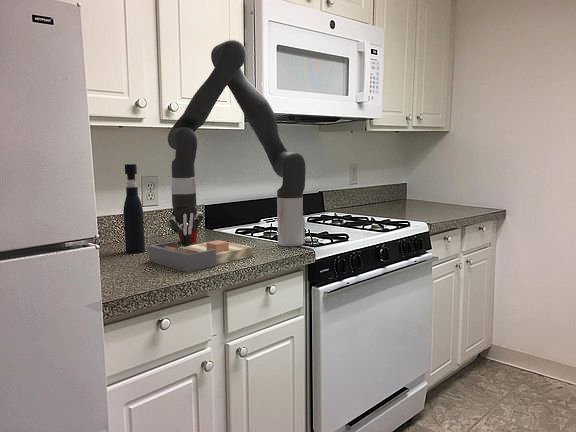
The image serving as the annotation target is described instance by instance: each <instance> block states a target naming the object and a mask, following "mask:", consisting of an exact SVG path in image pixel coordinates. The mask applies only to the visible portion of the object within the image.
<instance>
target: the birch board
mask: <svg viewBox="0 0 576 432" xmlns="http://www.w3.org/2000/svg"><path fill="white" fill-rule="evenodd" d="M216 241H218V240H217V239H216ZM207 242H208V241H207ZM207 242H201V243H196V244H195V243H194V244H192V245H191V244H190V246H186V247H184V246H180V247H179V251H181V252H183V253H187V254H192V253H197V252H202V251H207V248H206V243H207ZM228 242H229V241H228ZM253 256H254V247H253V246H249V245H245V244H244V245H243V244H238V243H234V242H229V250H226V251H221V252H217V253H216V265H221V264H225V263H229V262H233V261H238V260H242V259H246V258H251V257H253Z"/></svg>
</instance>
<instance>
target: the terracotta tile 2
mask: <svg viewBox="0 0 576 432" xmlns="http://www.w3.org/2000/svg"><path fill="white" fill-rule="evenodd" d="M205 243H206V242H205ZM206 248H207V250H212V249H215V250H216V253H217V252H221V251H226V250H229V241H223V240H218V241H217V240H213V241H212V240H211V241H207V243H206Z"/></svg>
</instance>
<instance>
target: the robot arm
mask: <svg viewBox="0 0 576 432" xmlns="http://www.w3.org/2000/svg"><path fill="white" fill-rule="evenodd" d="M210 53H211V54H210V59H211V63H212V66H213V67H214V68H213V70H212V71H211V73H210V74H209V76H208V78H206V80H205V81H204V82H203V83H202V84H201V86H200V87H199V88H198V89H197V91H196V92H195V93H194V94H193V97H192V98H191V99H190V101H189V103H188V104H187V106H186V108H185V110H184V112H183V113H182V115H181V116H180V117H179V118H178V120H177V121H175V123H174V125H172V127H171V128H170V130H169V133H168V134H167V144H168V145H169V148H171V149H172V150H175V153H174V154H175V157H174V159H173V160H172V161H171V200H172V201H171V205H172V212H171V216H170V217H169V218H166V220H165V222H166V223H167V224H168V226H169V228H170V229H171V230H172V231H173V232H174V233H175V234H178V235H179V234H180V235H181V242H180V244H181V247H186V246H190V245H191V244H192V243H191V233H192V232H195V231H196V229H197V228H198V229H199V226H200V225H201V222H202V220H203V219H204V216H203V215H202V214H201V215H199V214H198V213H197V211H198V210H197V208H196V207H197V205H198V204H197V184H196V178H195V177H196V175H195V174H196V170H195V160H196V155H197V149H198V139H197V138H198V137H197V135H196V132H197V130H198V129H199V128H200V127H202V126H204V125H205V123H206V121H207V120H208V117H209V115H210V114H211V112H212V111H213V109H214V106H215V105H216V103H217V101H218V100H219V99H220V96H221V95H222V93H223V92H224V90H225V88H226V87H228V89H229V91H230V92H231V94H232V95H233V98H234V100H236V103H237V104H238V106H239V108H240V109H241V111H242V113H243V115H244V117H245V118H246V120H247V123H248V124H249V126H250V127H251V129H252V131H253V132H254V134H255V136H256V138H257V139H258V141H259V142H260V144H261V146H262V148H263V149H264V152H265V153H266V156H267V159H268V161H269V163H270V165H271V167H272V168H271V169H272V170H273V171H274V173H275V174H276V175H277V176H279V177H280V178H282V182H281V183H282V185H281V187H279V188H278V189H277V191H276V205H277V206H276V207H277V216H276V217H277V245H278V246H281V247H298V246H299V247H300V246H302V245H304V244H305V243H306V233H305V232H306V223H305V221H306V220H305V217H304V210H303V209H304V206H303V203H304V202H303V201H304V199H303V197H304V196H303V195H304V191H305V187H306V171H307V169H306V162H305V158H304V156H303V155H302V154H300V153H298V152H295V151H293V152H292V151H291V152H289V151H288V149H286V147H285V145H284V143H283V142H282V140H281V138H280V134H279V128H278V121H277V117H276V114H275V112H274V111H273V108H272V106H271V104H270V103H269V101H268V100H267V98H266V97H265V95H264V94H263V93H261V92H260V91H259V90H258V89H257V88H256V87H255V86H254V85H253V84H252V83H251V82H250V81H249V80H248V78H247V77H246V75H245V74H244V71H243V70H242V67H243V66H244V65H245V62H246V60H247V51H246V48H245V46H244V44H242V42H240V41H239V40H237V39H229V40H226V41H224V42H222V43H219V44H217V45H215V46H214V47H213V48H212V50H211V52H210ZM176 221H177V223H178V225H177V224H176Z"/></svg>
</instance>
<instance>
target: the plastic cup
mask: <svg viewBox="0 0 576 432" xmlns="http://www.w3.org/2000/svg"><path fill="white" fill-rule="evenodd" d="M197 213H198V214H199V215H202V214H203V212H202V211H198V210H197ZM175 223H176V224H177V225H178V223H177V221H176V222H175ZM198 233H199V227H198V228H197V229H196V231H195V232H192V233H191V244H195V243H196V242H197V237H198ZM178 237H179V242H180V243H181V235H180V234H178Z"/></svg>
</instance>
